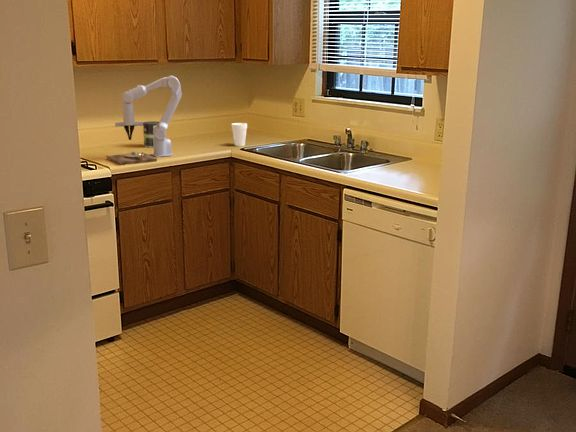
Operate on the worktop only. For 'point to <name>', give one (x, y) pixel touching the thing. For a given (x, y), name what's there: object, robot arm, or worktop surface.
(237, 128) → the foam cup
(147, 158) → the walnut stand
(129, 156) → the cam dial
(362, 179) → the worktop surface
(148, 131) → the coffee can
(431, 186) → the worktop surface
